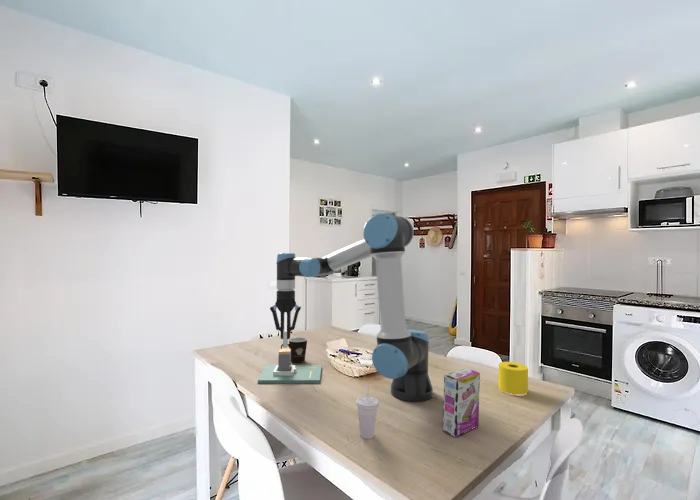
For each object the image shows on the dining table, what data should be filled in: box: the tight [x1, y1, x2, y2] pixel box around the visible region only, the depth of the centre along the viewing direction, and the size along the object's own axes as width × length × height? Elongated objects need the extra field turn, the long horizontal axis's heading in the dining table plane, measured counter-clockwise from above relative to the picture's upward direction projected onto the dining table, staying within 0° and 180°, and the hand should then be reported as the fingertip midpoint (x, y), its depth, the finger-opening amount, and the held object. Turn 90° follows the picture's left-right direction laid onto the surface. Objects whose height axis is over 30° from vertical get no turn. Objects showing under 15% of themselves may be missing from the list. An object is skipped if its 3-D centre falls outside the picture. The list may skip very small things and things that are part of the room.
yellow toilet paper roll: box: [498, 361, 529, 394], centre depth 131 cm, size 10×10×9 cm
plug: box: [277, 348, 292, 371], centre depth 145 cm, size 4×4×9 cm
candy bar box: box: [442, 368, 481, 438], centre depth 102 cm, size 11×5×16 cm, turn 127°
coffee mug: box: [280, 336, 308, 364], centre depth 164 cm, size 12×9×10 cm
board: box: [257, 364, 322, 384], centre depth 145 cm, size 18×24×3 cm
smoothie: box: [355, 383, 380, 440], centre depth 98 cm, size 6×6×14 cm
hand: (285, 346), depth 144 cm, fingers closed
